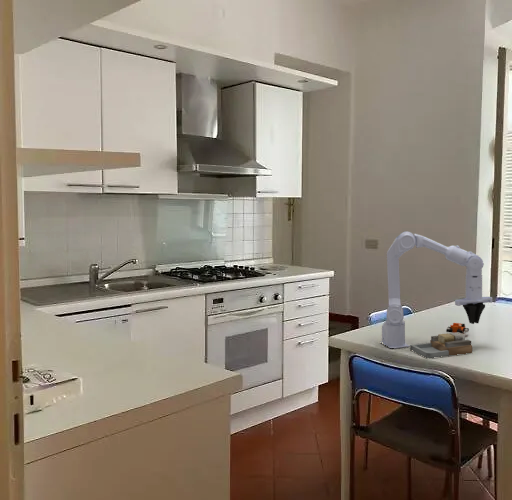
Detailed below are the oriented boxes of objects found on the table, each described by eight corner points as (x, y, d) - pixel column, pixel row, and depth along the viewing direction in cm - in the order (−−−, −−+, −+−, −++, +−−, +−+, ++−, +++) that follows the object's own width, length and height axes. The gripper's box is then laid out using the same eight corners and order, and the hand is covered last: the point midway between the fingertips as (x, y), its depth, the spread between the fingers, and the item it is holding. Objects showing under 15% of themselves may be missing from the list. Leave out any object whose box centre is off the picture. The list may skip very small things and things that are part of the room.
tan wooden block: (438, 342, 207) (438, 334, 206) (447, 341, 208) (447, 333, 207) (444, 345, 203) (444, 337, 203) (454, 343, 204) (454, 335, 204)
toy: (443, 324, 222) (451, 316, 234) (443, 339, 222) (451, 330, 235) (464, 326, 218) (471, 317, 230) (464, 341, 218) (471, 332, 231)
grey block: (448, 341, 208) (448, 333, 208) (458, 339, 209) (458, 332, 209) (455, 343, 204) (455, 335, 204) (464, 342, 205) (464, 334, 205)
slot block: (430, 347, 211) (430, 336, 210) (452, 345, 213) (452, 333, 213) (448, 356, 199) (448, 344, 199) (472, 353, 201) (472, 341, 201)
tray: (410, 350, 209) (410, 344, 208) (430, 347, 211) (430, 342, 211) (427, 359, 197) (427, 353, 197) (448, 356, 199) (448, 350, 199)
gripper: (463, 290, 201) (463, 327, 202) (498, 287, 204) (497, 323, 205) (451, 287, 207) (451, 323, 209) (485, 284, 211) (485, 319, 212)
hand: (473, 323), depth 208 cm, fingers closed
